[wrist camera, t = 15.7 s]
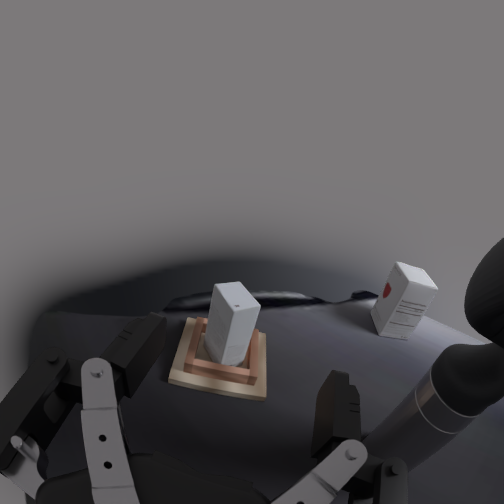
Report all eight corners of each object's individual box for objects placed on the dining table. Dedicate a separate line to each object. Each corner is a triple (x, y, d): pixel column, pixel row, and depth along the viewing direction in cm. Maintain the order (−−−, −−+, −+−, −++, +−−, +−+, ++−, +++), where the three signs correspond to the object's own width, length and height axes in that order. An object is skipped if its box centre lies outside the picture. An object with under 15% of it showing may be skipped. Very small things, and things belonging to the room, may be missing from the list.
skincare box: (243, 365, 41) (262, 306, 36) (218, 372, 39) (233, 311, 34) (225, 339, 46) (240, 280, 41) (202, 344, 43) (213, 283, 38)
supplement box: (368, 312, 65) (394, 259, 59) (397, 318, 65) (423, 268, 59) (377, 336, 57) (409, 280, 50) (408, 341, 57) (439, 288, 51)
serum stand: (264, 338, 50) (269, 324, 48) (264, 401, 37) (270, 388, 36) (187, 322, 49) (189, 307, 47) (168, 382, 36) (168, 368, 35)
